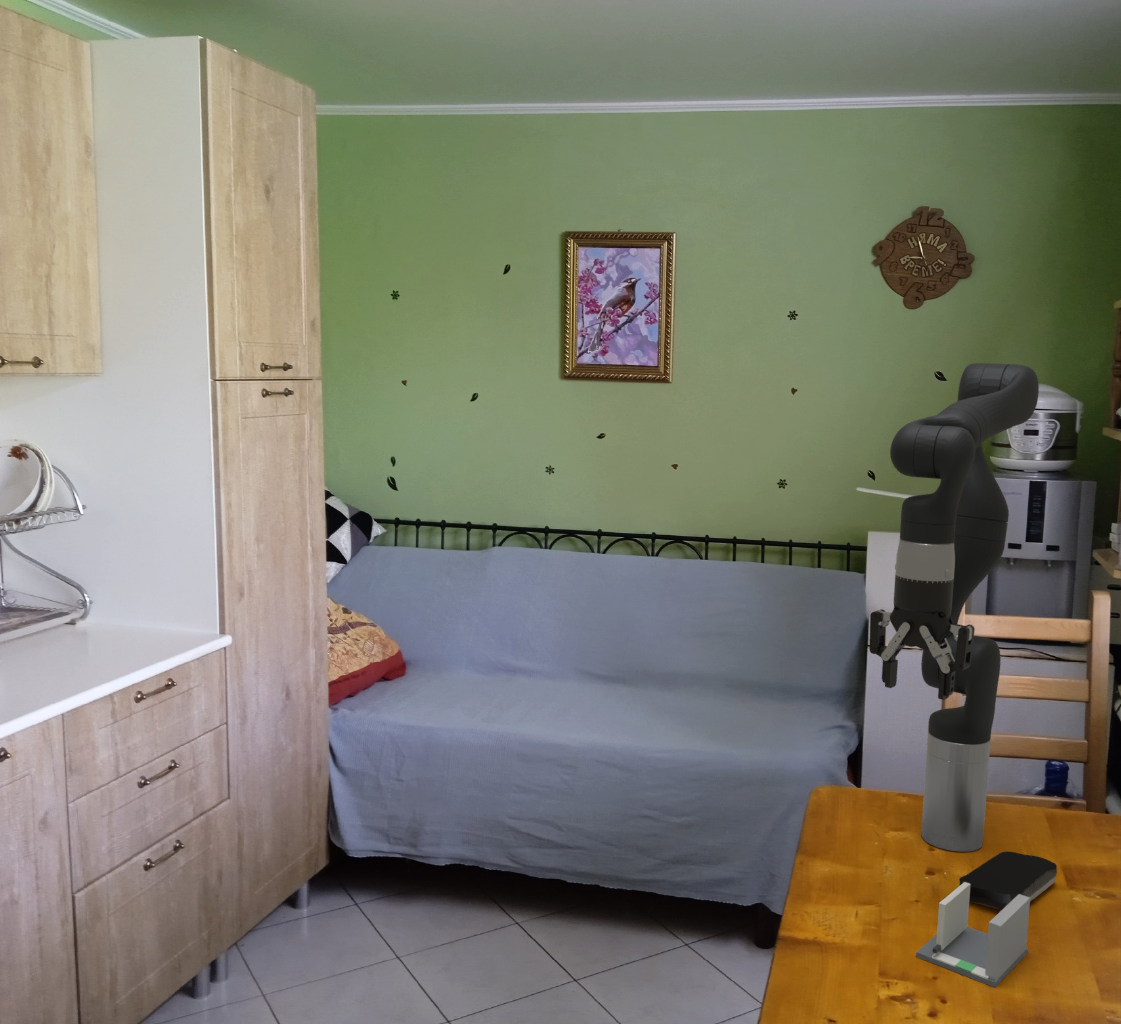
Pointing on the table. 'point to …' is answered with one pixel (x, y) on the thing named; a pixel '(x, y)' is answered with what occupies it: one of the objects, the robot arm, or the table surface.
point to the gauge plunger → (952, 916)
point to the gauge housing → (986, 946)
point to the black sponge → (1009, 879)
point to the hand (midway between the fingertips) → (916, 692)
